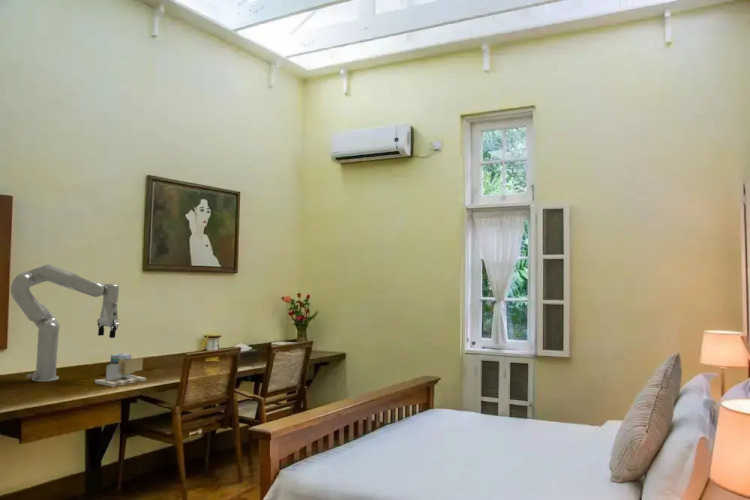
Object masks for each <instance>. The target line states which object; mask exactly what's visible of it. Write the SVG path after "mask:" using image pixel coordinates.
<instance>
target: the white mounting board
mask: <svg viewBox="0 0 750 500" xmlns="http://www.w3.org/2000/svg"><path fill="white" fill-rule="evenodd" d="M105 379H106V377H105V378H100V379H94V384H97V385H102V386H107V387H112V388H113V387H114V388H115V387H119V386H125V385H129V384H134V383H139V382H144V381H145V382H146V381H147V377H144V376H138V375H134V374H131V378H130V379H119V380H113V381H108V382H105Z"/></svg>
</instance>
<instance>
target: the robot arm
mask: <svg viewBox="0 0 750 500" xmlns="http://www.w3.org/2000/svg"><path fill="white" fill-rule="evenodd" d="M45 282H47V283H52V284H55V285H57V286H58V285H59V286H61V287H64V288H67V289H69V290H74V291H77V292H79V293H82V294H85V295H87V296H89V297H90V296H91V297H95V298H97V297H102V296H103V297H102V306H101V310H100V315H99V318H98V319H97V320H96V322H97V329H98V330H97V331H98V332H97V335H98V336H100V337H101V336H104V335H105V328H104V327H108V328H109V329H110V330H109V339H114V338H116V331H118V327H119V325H120V323H119V322H118V320H119V312H118V308H117V307H118V299H119V292H120V291H119V289H120V286H119V284H115V283H102V282H95V281H92V280H90V279H86V278H84V277H81V275H78V274H76V273H73V272H71V271H69V270H65V269H62V268H60V267H57V266H54V265H53V264H48V263H47V264H44V265H42V266H39V267H35V268H33V269H30V270H27V271H23V272H21V273H19V274H17V275H16V276H15V278H13V280H12V282H11V285H10V294H11V296H12V298H13V300H14V301H15V303H16V304H17V305H18V307H19V308H20V309H21V311H22V312H23V313H24V315H25V316H26V318H27V319H28V320H29V321H31V322H33V323H34V325H35V326H36V327H37V328H38V331H37V346H36V347H37V348H36V349H37V352H36V364H35V365H36V366H35V370H34V371H33V373H28V374H26V378H27V379H31V380H32V381H33V382H42V383H43V382H45V383H46V382H54V381H57V380H59V379H60V376H58V375H57V362H58V360H57V359H58V345H59V333H60V328H61V327H60V323H59V322H58V321H57V319H56V318H55V316H54V315H53V314H52V313H51V311H50V310H49V308H47V307H46V306H45V304H43V303H40V302H39V301H38V299H37V298H36V297H35V295H34V294H33V293H32V291H31V290H30V287H33V286H37V285H40V284H42V283H45Z"/></svg>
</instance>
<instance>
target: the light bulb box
mask: <svg viewBox="0 0 750 500" xmlns="http://www.w3.org/2000/svg"><path fill="white" fill-rule="evenodd" d="M121 359H132V354H131V353H127V352H126V353H125V352H120V353H116V354H111V355H110V364H109V365H113V364H118V360H121Z"/></svg>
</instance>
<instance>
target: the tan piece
mask: <svg viewBox="0 0 750 500" xmlns="http://www.w3.org/2000/svg"><path fill="white" fill-rule="evenodd" d="M125 360H126V359H121V360H118V364H120V363H121V364H122V365H121V374H129V373H131V374H134V373H135V372H139V371H143V363H144V362H143V361H144V357H137V358H131V359H128V361H125Z"/></svg>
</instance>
